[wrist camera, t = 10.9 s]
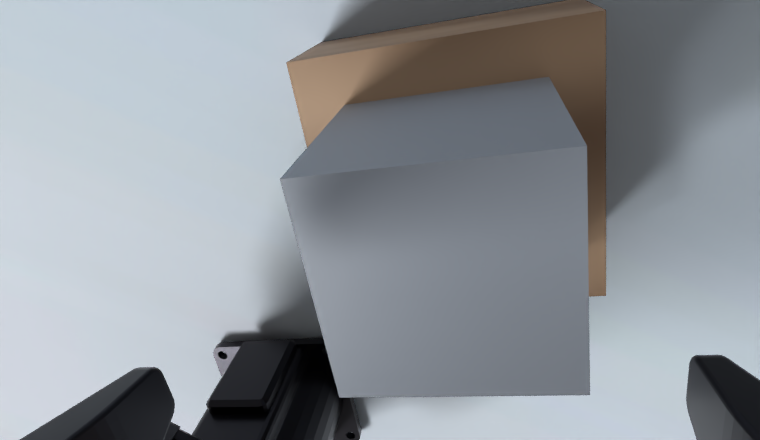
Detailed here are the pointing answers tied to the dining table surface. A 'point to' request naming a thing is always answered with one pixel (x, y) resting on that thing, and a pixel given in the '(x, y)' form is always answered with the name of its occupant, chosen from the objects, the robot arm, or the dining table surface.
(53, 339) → the dining table surface
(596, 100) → the walnut block
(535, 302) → the slate cube
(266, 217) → the dining table surface
